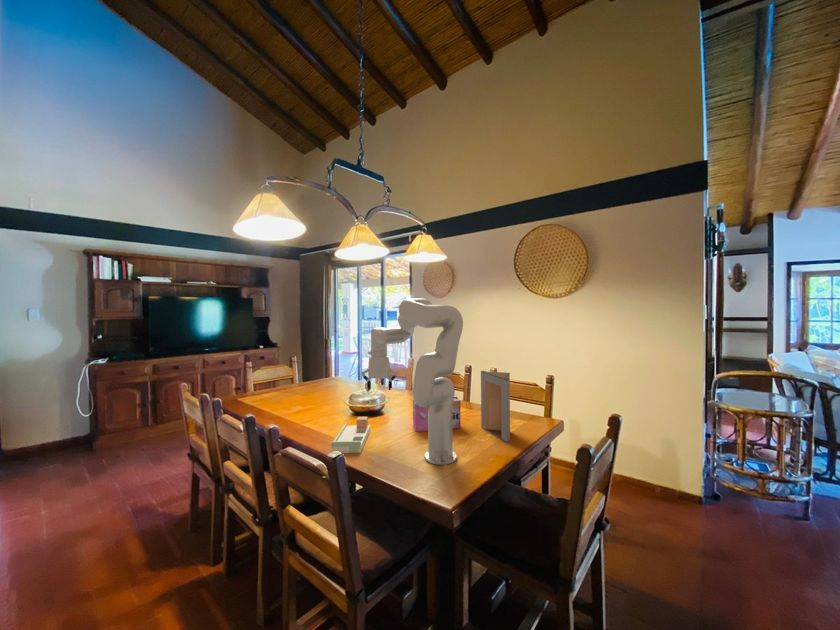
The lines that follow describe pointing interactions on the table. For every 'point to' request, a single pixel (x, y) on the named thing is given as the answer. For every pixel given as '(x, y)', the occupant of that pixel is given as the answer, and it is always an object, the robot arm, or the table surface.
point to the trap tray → (350, 439)
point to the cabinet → (496, 404)
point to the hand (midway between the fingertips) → (379, 389)
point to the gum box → (422, 416)
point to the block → (362, 422)
